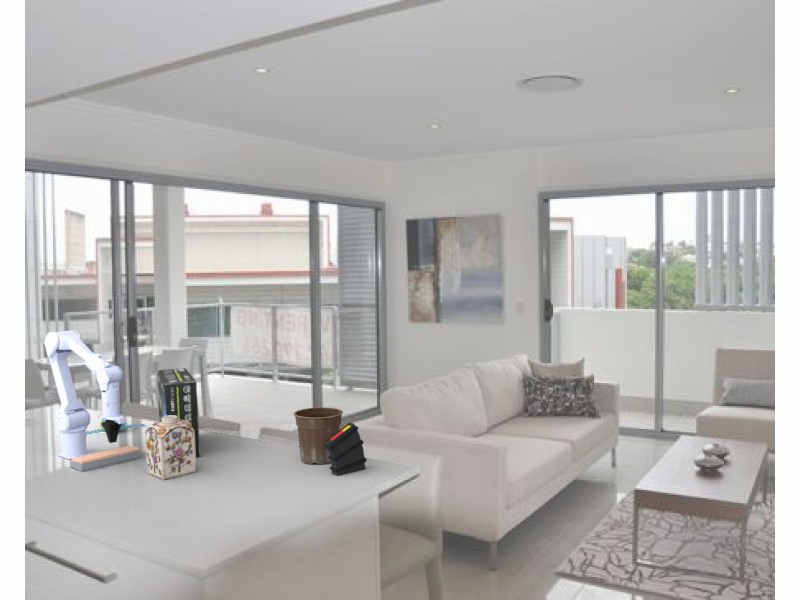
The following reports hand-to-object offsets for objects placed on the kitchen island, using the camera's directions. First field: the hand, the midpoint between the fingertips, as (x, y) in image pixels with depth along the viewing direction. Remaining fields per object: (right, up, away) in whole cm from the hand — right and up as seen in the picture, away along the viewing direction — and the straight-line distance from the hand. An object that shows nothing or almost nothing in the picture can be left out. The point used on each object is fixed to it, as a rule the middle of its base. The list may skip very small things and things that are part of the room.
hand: (112, 442), depth 238 cm
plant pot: (+71, -5, -5) cm, 71 cm away
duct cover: (-1, -4, -2) cm, 5 cm away
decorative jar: (+25, -7, -15) cm, 30 cm away
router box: (+18, -6, +16) cm, 24 cm away
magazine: (+81, -6, -20) cm, 83 cm away
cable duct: (-2, -7, -2) cm, 7 cm away
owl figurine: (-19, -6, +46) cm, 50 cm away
